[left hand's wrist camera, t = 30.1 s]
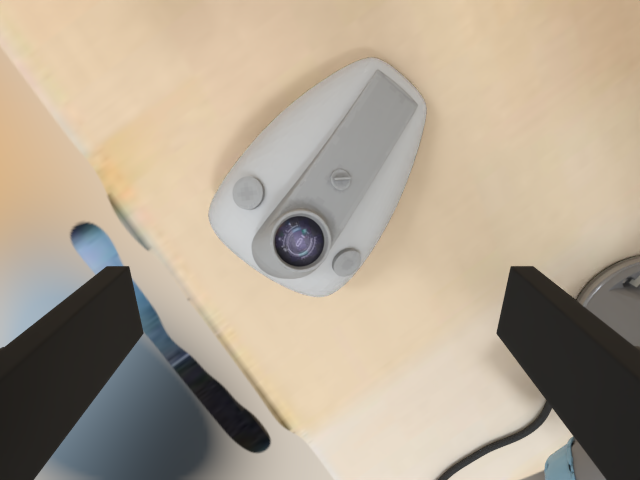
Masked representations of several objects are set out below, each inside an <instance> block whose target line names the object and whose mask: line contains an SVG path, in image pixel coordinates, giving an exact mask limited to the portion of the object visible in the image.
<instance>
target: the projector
mask: <svg viewBox="0 0 640 480" xmlns="http://www.w3.org/2000/svg"><path fill="white" fill-rule="evenodd" d="M426 110H427V109H426V103H425V100H424V99H423V97H422V95H421V94H420V93H419V91H418V90H417V89H416V88H415V87H414V86H413V85H412V83H411V82H409V81H408V80H407V79H406V78H405V77H404V76H403V75H402V74H401V73H399V72H398V71H397V70H396V69H395V68H393V67H392V66H391V65H389V64H388V63H386V62H384V61H382V60H380V59H378V58H372V57H371V58H364V59H361V60H358V61H356V62H353V63H351V64H349V65H347V66H345V67H344V68H342V69H340V70H338V71H336V72H335V73H333V74H332V75H330V76H328V77H327V78H325V79H324V80H322V81H321V82H319V83H318V84H316V85H315V86H314V87H312V88H311V89H309V90H308V91H307V92H305V93H304V94H303V95H302V96H300V97H299V98H298V99H296V100H295V101H294V102H293V103H292V104H290V105H289V106H288V107H287V108H286V109H285V110H283V111H282V112H281V113H280V114H279V115H278V116H277V117H276V118H275V119H274V120H273V121H272V122H271V123H270V124H269V125H268V126H267V127H266V128H265V129H264V130H263V131H262V132H261V133H260V134H259V135H258V136H257V138H256V139H255V140H254V141H253V142H252V143H251V144H250V145H249V147H248V148H247V149H246V150H245V152H244V153H243V154H242V155H241V157H240V158H239V159H238V160H237V162H236V163H235V164H234V166H233V167H232V168H231V170H230V171H229V173H228V174H227V176H226V177H225V178H224V180H223V182H222V183H221V185H220V186H219V188H218V190H217V192H216V194H215V195H214V197H213V200H212V202H211V204H210V208H209V221H210V224H211V227H212V228H213V230H214V232H215V233H216V235H217V236H218V238H219V239H220V240H221V241H222V242H223V243H224V244H225V245H226V246H227V247H228V248H229V249H230V250H231V251H232V252H233V253H234V254H236V255H237V256H238V257H239V258H241V259H242V260H243V261H244V262H246V263H247V264H248V265H249V266H251V267H252V268H254V269H255V270H257V271H258V272H260V273H261V274H263V275H264V276H266V277H267V278H269V279H271V280H272V281H274V282H276V283H278V284H280V285H282V286H284V287H286V288H288V289H290V290H293V291H295V292H298V293H300V294H304V295H307V296H312V297H324V296H328V295H330V294H332V293H334V292H336V291H337V290H339V289H340V288H341V287H342V286H344V285H345V284H346V283H347V282H348V281H349V280H350V279H351V278H352V277H353V275H354V274H355V273H356V272H357V270H358V269H359V268H360V267H361V266H362V264H363V263H364V261H365V260H366V259H367V257H368V256H369V254H370V253H371V251H372V250H373V248H374V247H375V245H376V243H377V242H378V240H379V239H380V237H381V235H382V233H383V231H384V230H385V228H386V226H387V224H388V222H389V220H390V218H391V216H392V214H393V212H394V210H395V208H396V206H397V204H398V202H399V200H400V197H401V195H402V193H403V190H404V188H405V185H406V183H407V180H408V177H409V175H410V172H411V169H412V166H413V163H414V160H415V157H416V154H417V151H418V147H419V144H420V141H421V137H422V133H423V129H424V124H425V119H426Z"/></svg>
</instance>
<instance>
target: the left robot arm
mask: <svg viewBox="0 0 640 480" xmlns="http://www.w3.org/2000/svg"><path fill="white" fill-rule="evenodd" d="M142 335H143V329H142V324H141V319H140V315H139V310H138V305H137V301H136V296H135V291H134V287H133V282H132V278H131V273H130V268H129V266H107V267H105V268H104V269H103V270H102V271H100V272H99V273H98V274H97V275H95V276H94V277H93V278H91V279H90V280H89V281H88V282H86V283H85V284H84V285H83V286H81V287H80V288H79V289H78V290H76V291H75V292H74V293H72V294H71V295H70V296H69V297H67V298H66V299H65V300H64V301H62V302H61V303H60V304H59V305H57V306H56V307H55V308H53V309H52V310H51V311H50V312H48V313H47V314H46V315H45V316H43V317H42V318H41V319H40V320H38V321H37V322H36V323H35V324H33V325H32V326H31V327H29V328H28V329H27V330H26V331H24V332H23V333H22V334H20V335H19V336H18V337H17V338H15V339H14V340H13V341H12V342H10V343H9V344H8V345H7V346H5V347H2V348H0V480H34V479H35V477H36V476H37V475H38V473H39V472H40V471H41V469H42V468H43V467H44V465H45V464H46V463H47V461H48V460H49V459H50V457H51V456H52V455H53V453H54V452H55V451H56V449H57V448H58V447H59V445H60V444H61V443H62V441H63V440H64V439H65V437H66V436H67V435H68V433H69V432H70V431H71V429H72V428H73V427H74V425H75V424H76V423H77V421H78V420H79V419H80V417H81V416H82V415H83V413H84V412H85V411H86V409H87V408H88V407H89V405H90V404H91V403H92V401H93V400H94V399H95V397H96V396H97V395H98V393H99V392H100V391H101V389H102V388H103V387H104V385H105V384H106V383H107V381H108V380H109V379H110V377H111V376H112V375H113V373H114V372H115V371H116V369H117V368H118V367H119V365H120V364H121V363H122V361H123V360H124V359H125V357H126V356H127V355H128V353H129V352H130V351H131V349H132V348H133V347H134V345H135V344H136V343H137V341H138V340H139V339H140V337H141V336H142ZM497 335H498V336H499V337H500V339H501V340H502V341H503V343H504V344H505V345H506V347H507V348H508V349H509V351H510V352H511V353H512V355H513V356H514V357H515V359H516V360H517V361H518V363H519V364H520V365H521V367H522V368H523V369H524V371H525V372H526V373H527V375H528V376H529V377H530V379H531V380H532V381H533V383H534V384H535V385H536V387H537V388H538V389H539V391H540V392H541V393H542V395H543V396H544V397H545V399H546V400H547V402H546V404H545V406H544V408H543V410H542V412H541V414H540V415H539V417H538V418H537V419H536V420H535V421H534V422H533V423H532V424H531V425H529V426H528V427H527V428H525V429H524V430H522V431H520V432H518V433H516V434H514V435H512V436H509V437H507V438H504V439H502V440H499V441H497V442H494V443H492V444H490V445H488V446H486V447H484V448H482V449H480V450H478V451H477V452H475V453H473V454H472V455H470V456H468V457H467V458H465V459H463V460H462V461H460V462H459V463H457V464H456V465H454V466H453V467H451V468H450V469H449V470H448V471H446V472H445V473H444V474H443V475H442V476H441V477H440V478H439V479H438V480H448V479H449V478H450V477H451V476H452V475H453V474H455V473H456V472H457V471H459V470H460V469H462V468H463V467H465V466H467V465H468V464H470V463H472V462H473V461H475V460H477V459H478V458H480V457H482V456H484V455H485V454H487V453H489V452H491V451H493V450H496V449H498V448H500V447H503V446H506V445H508V444H511V443H513V442H516V441H518V440H520V439H522V438H524V437H526V436H528V435H529V434H531V433H532V432H534V431H535V430H536V429H537V428H539V427H540V426H541V425H542V423H543V422H544V421H545V420H546V418H547V417H548V415H549V413H550V411H551V409H552V408H553V409H554V411H555V412H556V413H557V415H558V416H559V417H560V419H561V420H562V421H563V423H564V424H565V425H566V427H567V428H568V429H569V431H570V432H571V433H572V435H573V437H572V438H570V440H569V441H568V443H567V444H566V445H565V446H563V447H562V448H560V449H559V450H557V451H556V452H555V453H553V454H552V455H551V456H550V457H549V458H548V459H547V461H546V463H545V470H544V471H545V480H640V256H635V257H631V258H628V259H625V260H622V261H620V262H618V263H615V264H614V265H612V266H610V267H608V268H607V269H605V270H603V271H602V272H601V273H599V274H598V275H597V276H596V277H594V278H593V279H592V280H591V281H590V282H589V283H588V284H587V285H586V287H585V288H584V289H583V290H582V292H581V293H580V295H579V296H578V298H577V300H575V299H574V298H573V297H571V296H570V295H569V294H568V293H566V292H565V291H564V290H562V289H561V288H560V287H559V286H557V285H556V284H555V283H554V282H552V281H551V280H550V279H549V278H547V277H546V276H545V275H543V274H542V273H541V272H540V271H538V270H537V269H536V268H535V267H533V266H511V268H510V273H509V278H508V282H507V287H506V291H505V296H504V301H503V305H502V310H501V315H500V319H499V324H498V329H497Z"/></svg>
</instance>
